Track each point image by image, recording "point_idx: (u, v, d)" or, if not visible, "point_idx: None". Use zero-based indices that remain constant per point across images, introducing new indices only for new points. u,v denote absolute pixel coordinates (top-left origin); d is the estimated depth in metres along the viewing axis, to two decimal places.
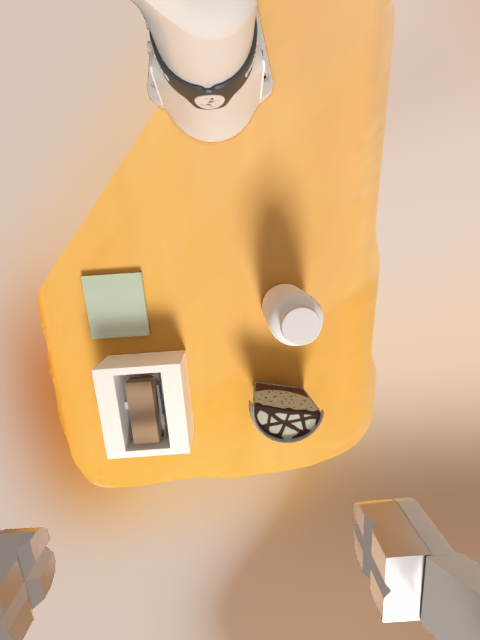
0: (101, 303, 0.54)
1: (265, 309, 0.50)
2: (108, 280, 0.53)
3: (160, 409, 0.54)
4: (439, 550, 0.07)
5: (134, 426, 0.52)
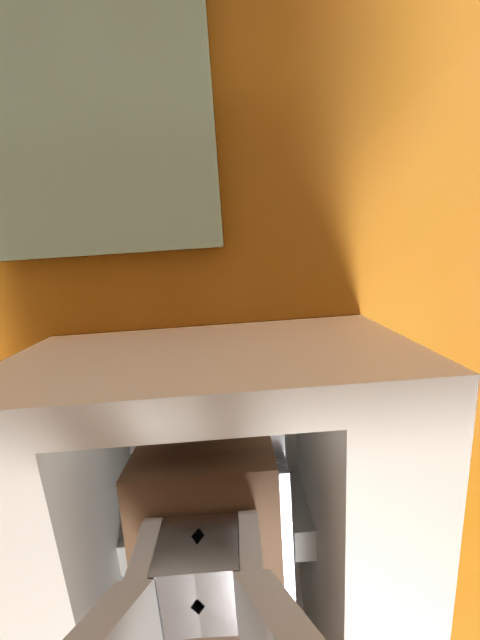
0: (1, 81, 0.11)
1: None
2: None
3: (289, 591, 0.11)
4: (248, 566, 0.07)
5: None
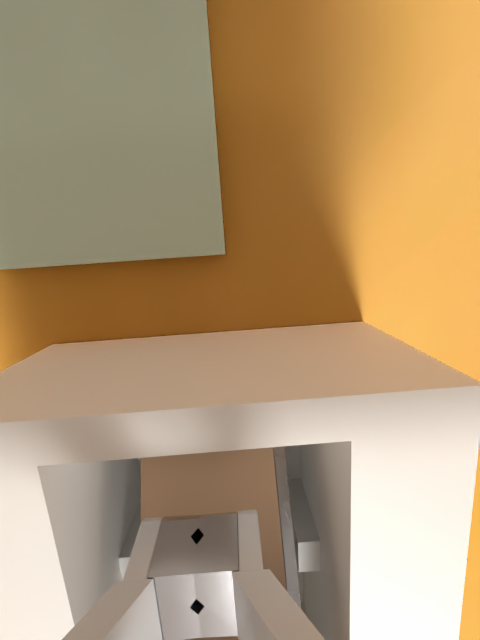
0: (4, 91, 0.11)
1: None
2: None
3: (292, 588, 0.11)
4: (248, 566, 0.07)
5: None
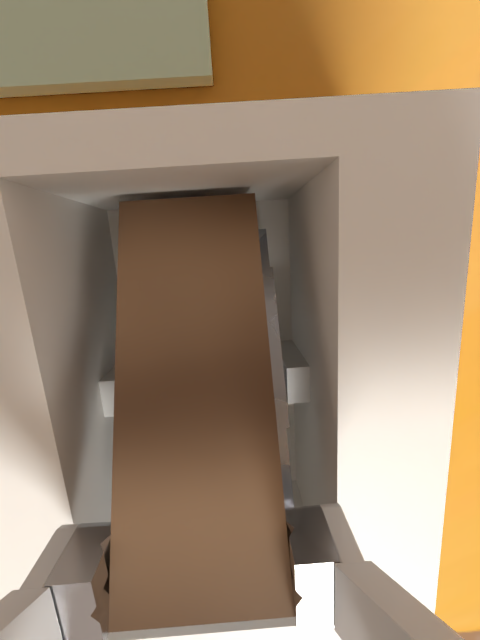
0: None
1: None
2: None
3: (279, 397, 0.10)
4: (349, 557, 0.07)
5: (133, 471, 0.08)
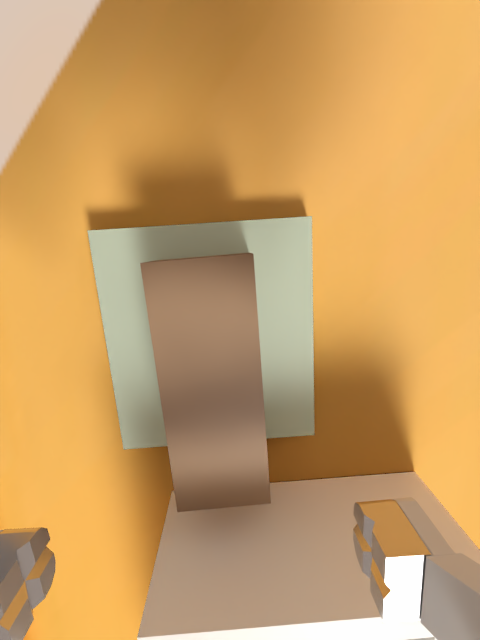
0: None
1: None
2: (190, 246, 0.14)
3: None
4: (439, 550, 0.07)
5: (179, 446, 0.13)
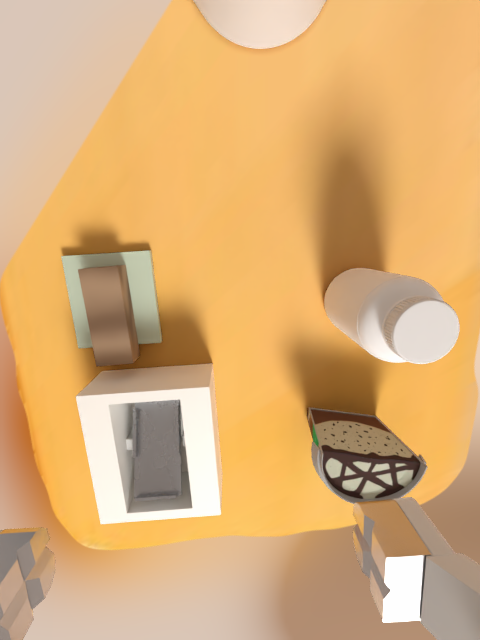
0: None
1: (340, 305, 0.33)
2: (102, 262, 0.36)
3: (177, 445, 0.37)
4: (439, 550, 0.07)
5: (95, 338, 0.35)
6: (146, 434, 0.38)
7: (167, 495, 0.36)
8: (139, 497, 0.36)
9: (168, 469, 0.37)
